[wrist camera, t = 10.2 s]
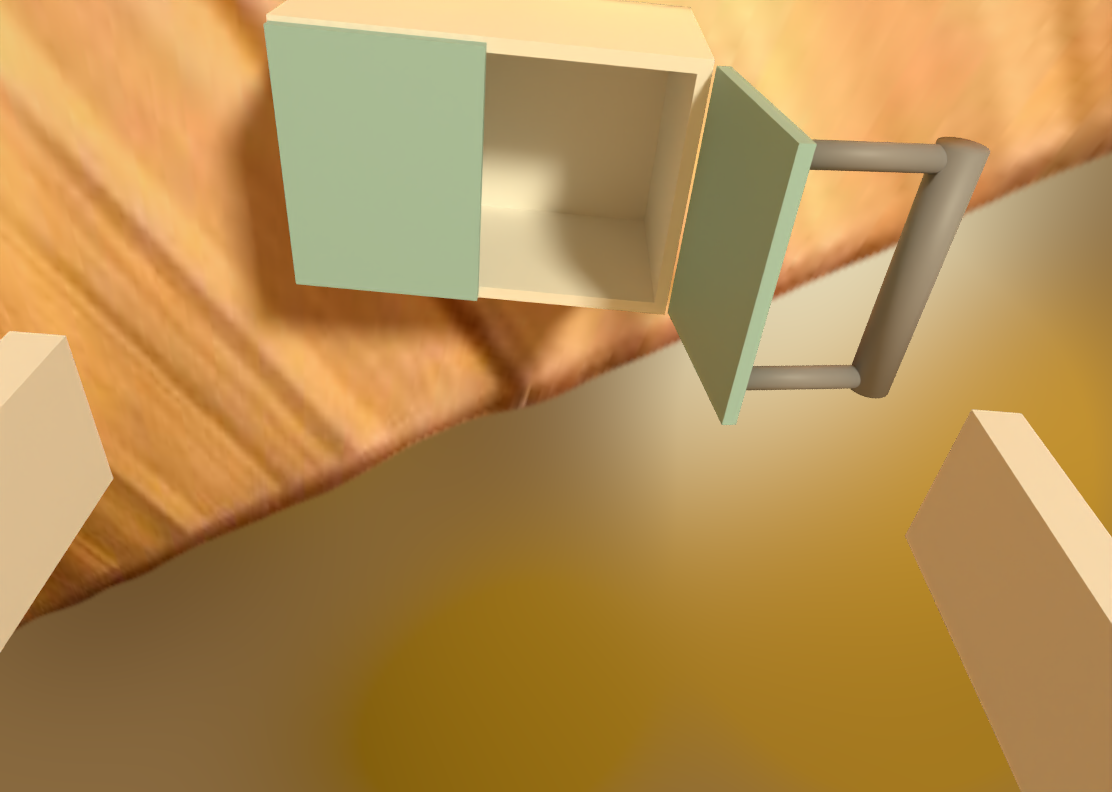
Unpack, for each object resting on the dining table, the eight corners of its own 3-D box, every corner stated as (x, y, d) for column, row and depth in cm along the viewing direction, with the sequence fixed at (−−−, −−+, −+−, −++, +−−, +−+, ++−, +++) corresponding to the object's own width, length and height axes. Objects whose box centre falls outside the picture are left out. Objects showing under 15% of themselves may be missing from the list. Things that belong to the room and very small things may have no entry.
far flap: (299, 277, 39) (295, 283, 38) (268, 20, 32) (263, 23, 31) (478, 294, 39) (476, 300, 38) (486, 42, 32) (485, 46, 31)
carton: (348, 198, 47) (298, 280, 39) (331, -30, 40) (266, 14, 32) (652, 227, 47) (664, 314, 39) (690, 7, 40) (714, 59, 32)
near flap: (721, 424, 32) (902, 420, 34) (799, 143, 25) (1022, 151, 27) (667, 312, 39) (819, 312, 40) (716, 65, 32) (898, 75, 34)
